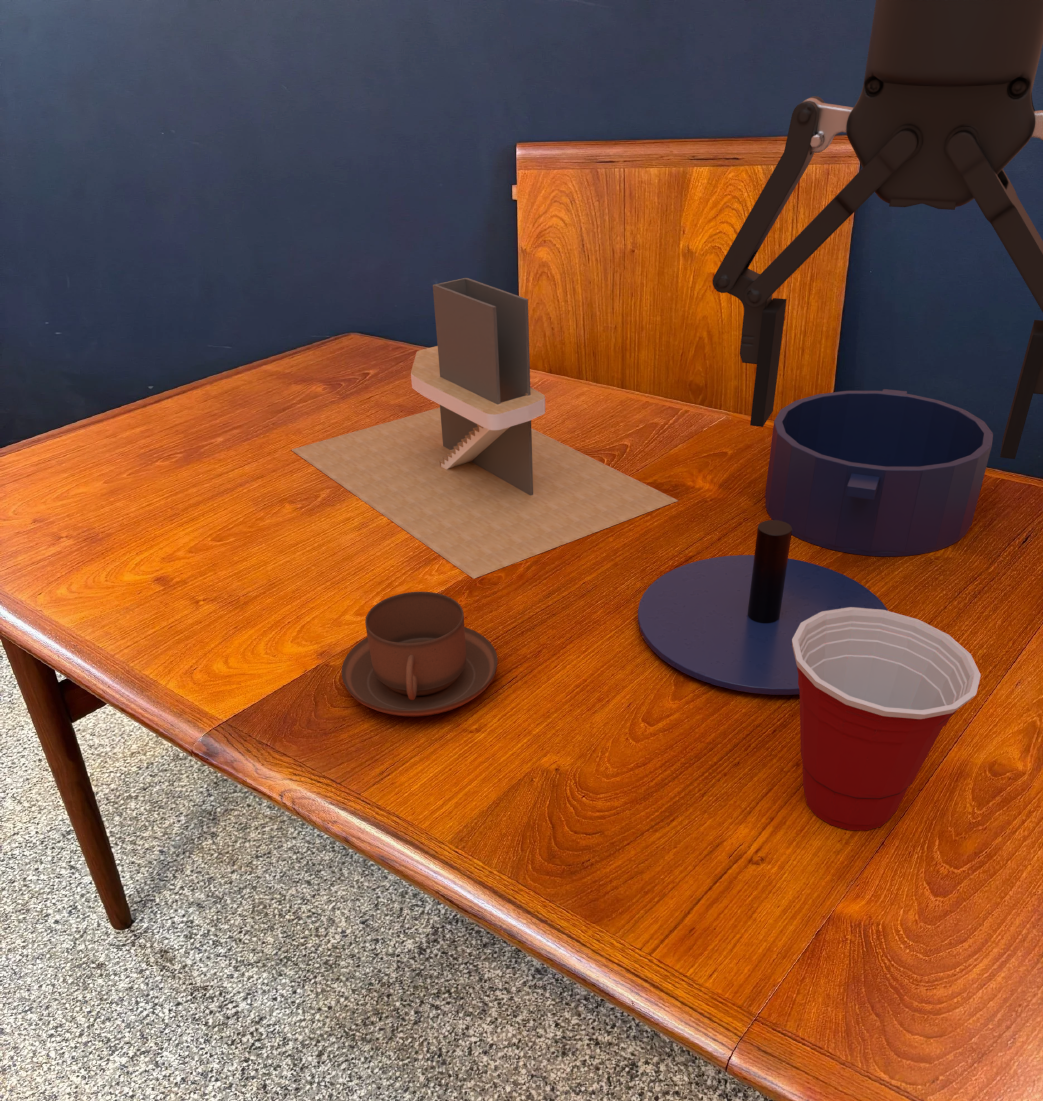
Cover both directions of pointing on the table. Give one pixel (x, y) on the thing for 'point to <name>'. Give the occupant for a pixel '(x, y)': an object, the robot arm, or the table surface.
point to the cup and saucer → (418, 657)
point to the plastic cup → (872, 708)
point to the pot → (876, 471)
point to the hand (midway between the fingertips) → (880, 433)
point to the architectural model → (480, 448)
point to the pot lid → (743, 613)
